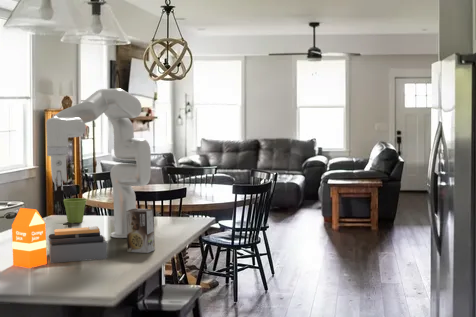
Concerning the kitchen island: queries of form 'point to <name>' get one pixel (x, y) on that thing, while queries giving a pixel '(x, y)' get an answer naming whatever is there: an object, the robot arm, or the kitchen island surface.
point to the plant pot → (74, 209)
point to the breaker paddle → (76, 230)
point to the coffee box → (140, 230)
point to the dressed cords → (73, 240)
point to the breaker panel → (77, 251)
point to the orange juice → (29, 239)
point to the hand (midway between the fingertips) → (59, 201)
